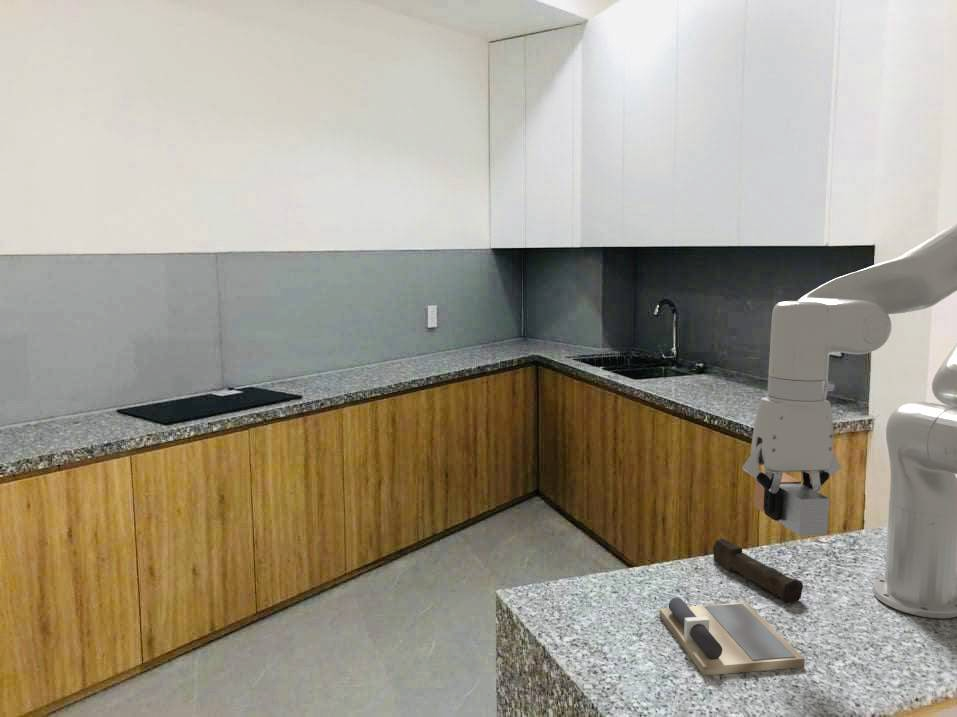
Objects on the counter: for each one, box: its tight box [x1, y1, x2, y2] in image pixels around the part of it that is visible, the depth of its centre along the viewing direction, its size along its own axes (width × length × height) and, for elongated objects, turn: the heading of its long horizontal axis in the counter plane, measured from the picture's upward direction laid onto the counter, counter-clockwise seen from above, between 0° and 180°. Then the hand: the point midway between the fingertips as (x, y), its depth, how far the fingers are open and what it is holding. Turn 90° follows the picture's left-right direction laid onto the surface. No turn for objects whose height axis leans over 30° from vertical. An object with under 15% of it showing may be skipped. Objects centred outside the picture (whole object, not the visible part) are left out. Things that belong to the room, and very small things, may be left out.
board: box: [659, 602, 806, 676], centre depth 102 cm, size 14×16×1 cm
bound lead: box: [668, 596, 722, 660], centre depth 101 cm, size 3×13×3 cm, turn 6°
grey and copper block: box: [753, 471, 830, 537], centre depth 101 cm, size 4×12×5 cm, turn 7°
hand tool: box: [712, 538, 804, 605], centre depth 121 cm, size 19×4×5 cm, turn 19°
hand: (788, 515), depth 101 cm, fingers closed on grey and copper block, 4 cm apart
